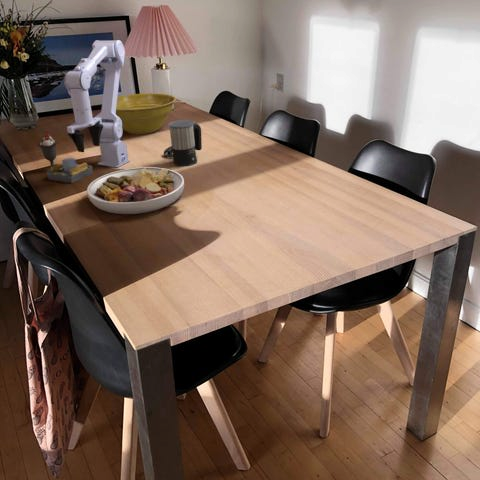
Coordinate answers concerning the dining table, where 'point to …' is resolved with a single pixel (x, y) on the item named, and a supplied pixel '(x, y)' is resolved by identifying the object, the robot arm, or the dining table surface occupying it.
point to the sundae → (48, 149)
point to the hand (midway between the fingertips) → (89, 148)
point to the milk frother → (184, 142)
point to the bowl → (136, 190)
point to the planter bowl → (143, 111)
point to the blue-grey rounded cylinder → (68, 164)
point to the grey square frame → (74, 173)
